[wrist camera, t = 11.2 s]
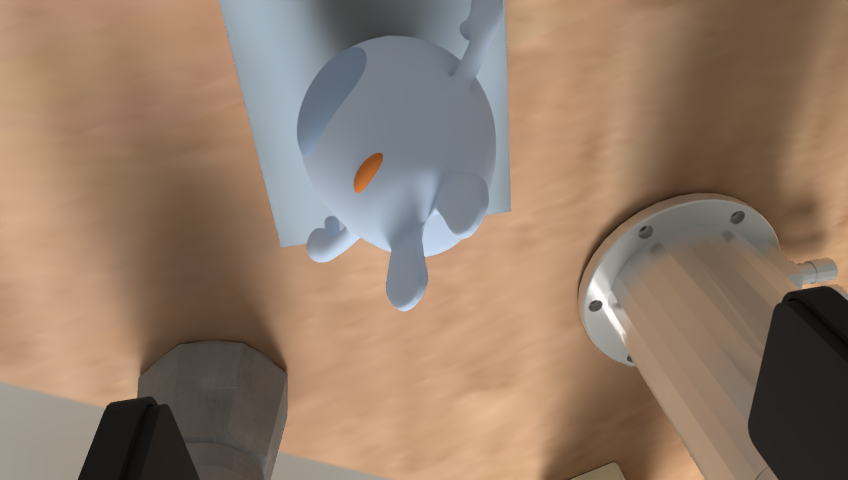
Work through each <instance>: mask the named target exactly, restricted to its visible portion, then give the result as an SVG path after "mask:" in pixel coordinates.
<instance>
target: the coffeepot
mask: <svg viewBox="0 0 848 480" xmlns="http://www.w3.org/2000/svg"><path fill="white" fill-rule="evenodd" d="M148 396H149V397H153V398H154V399H155V400H156V402H157V404H158V405H161V404H167V405H168V406H169V407H170V409H171V411H172V414H173V416H174V418H175V421H176V423H177V426H178V428H179V430H180V433H181V435H182V438H183V440H184V442H185V445H186V447H187V450H188V452H189V454H190V457H191V459H192V461H193V464H194V466H195V469H196V471H197V473H198V476H199V478H200V480H270V479H271V475H272V471H273V467H274V464H275V460H276V457H277V453H278V449H279V445H280V442H281V438H282V434H283V430H284V427H285V423H286V419H287V374H286V373H285V372H284V371H283V370H282V369H281V368H279V367H278V366H277V365H276V364H275V363H274V362H273V361H272V360H270V359H269V358H268V357H267V356H266V355H264V354H262V353H261V352H259V351H257V350H256V349H253V348H251V347H248V346H247V345H246V344H244V343H238V342H231V341H219V340H208V341H198V342H193V343H189V344H179V345H178V346H176V347H175V348H174V349H172V350H171V351H169V352H168V353H166V354H165V355H163V356H162V357H160V358H159V359H158V360H157V361H156V362H155V363H154V364H153V365H152V366H151V367H150V368H149V369H148V370H147V371H146V372H145V373H143V374H142V375H141V376H140V377H139V382H138V396H137V398H142V397H148Z"/></svg>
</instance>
